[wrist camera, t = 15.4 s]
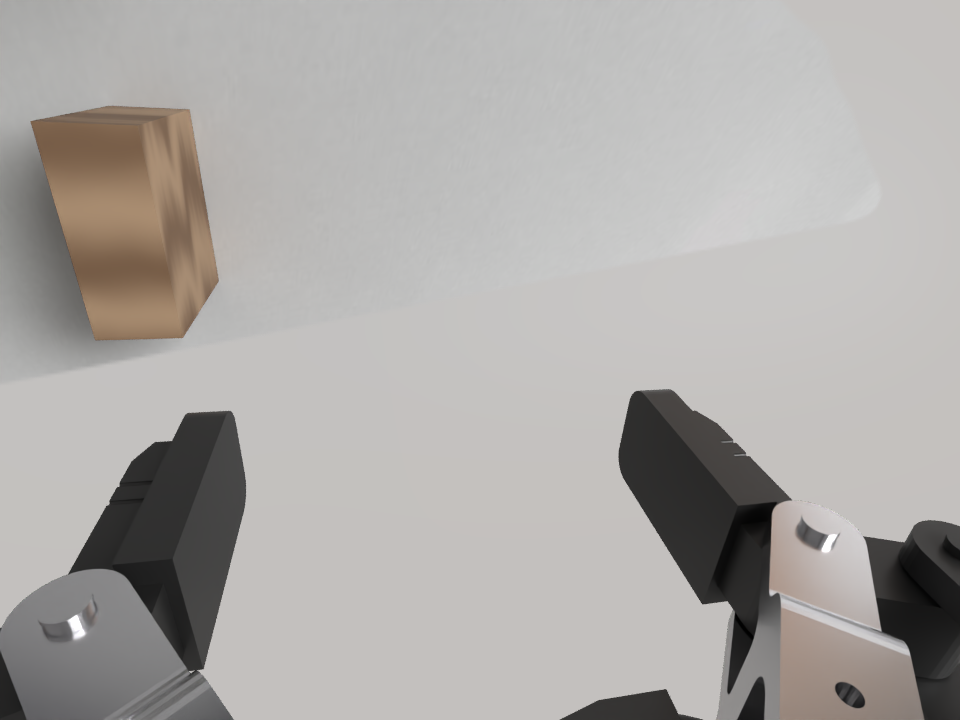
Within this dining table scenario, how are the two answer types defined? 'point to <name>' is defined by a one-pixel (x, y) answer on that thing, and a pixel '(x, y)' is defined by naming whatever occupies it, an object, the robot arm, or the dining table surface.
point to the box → (131, 217)
